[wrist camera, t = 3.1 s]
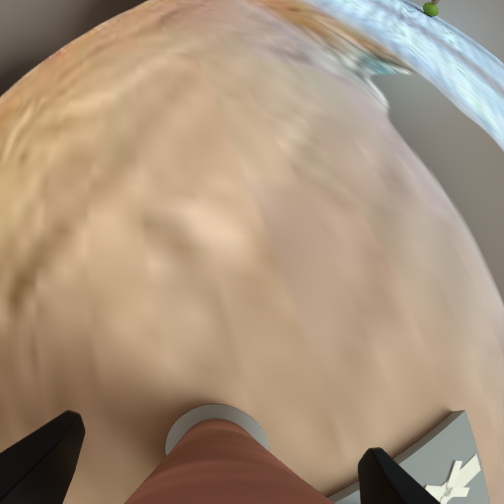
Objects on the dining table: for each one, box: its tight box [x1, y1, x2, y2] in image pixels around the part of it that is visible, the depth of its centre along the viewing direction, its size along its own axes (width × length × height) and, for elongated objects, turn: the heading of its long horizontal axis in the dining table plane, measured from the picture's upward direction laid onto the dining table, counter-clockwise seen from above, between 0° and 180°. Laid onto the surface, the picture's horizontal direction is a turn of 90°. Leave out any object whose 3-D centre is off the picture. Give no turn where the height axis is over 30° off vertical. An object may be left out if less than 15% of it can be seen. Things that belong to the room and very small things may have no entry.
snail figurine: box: [423, 0, 439, 16], centre depth 62 cm, size 5×6×12 cm
